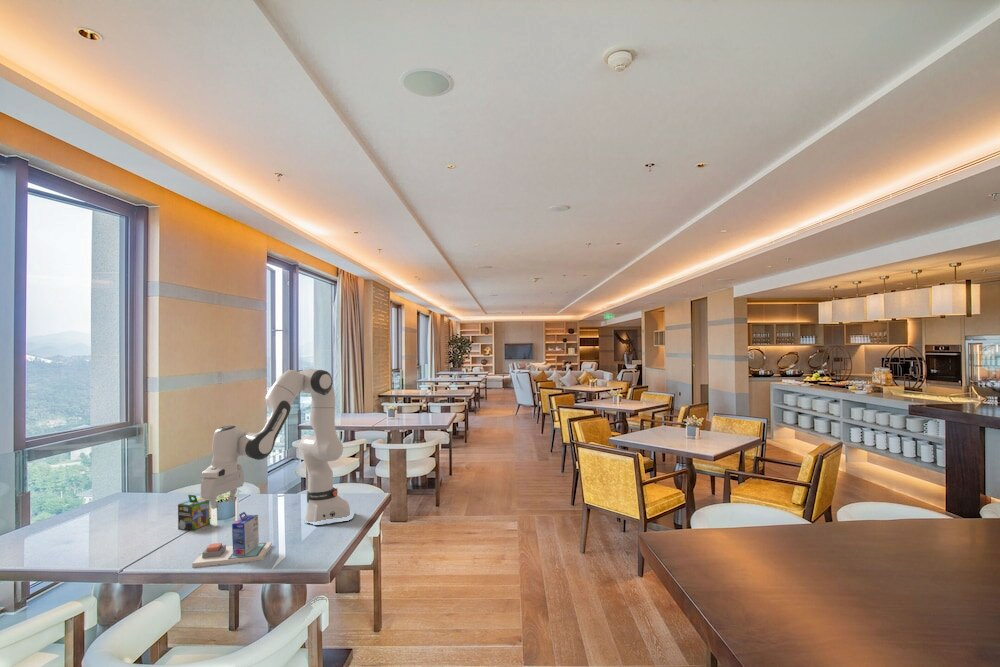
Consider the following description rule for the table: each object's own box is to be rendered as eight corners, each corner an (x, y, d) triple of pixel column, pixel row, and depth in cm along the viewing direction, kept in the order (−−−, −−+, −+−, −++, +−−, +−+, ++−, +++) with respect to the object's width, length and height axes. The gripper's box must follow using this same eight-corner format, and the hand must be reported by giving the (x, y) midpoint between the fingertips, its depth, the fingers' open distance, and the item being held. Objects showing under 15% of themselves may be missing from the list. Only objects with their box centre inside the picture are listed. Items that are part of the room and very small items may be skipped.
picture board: (271, 545, 194) (271, 537, 194) (262, 560, 180) (262, 550, 180) (206, 552, 189) (206, 543, 189) (192, 567, 175) (192, 557, 175)
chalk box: (210, 524, 220) (210, 492, 221) (191, 531, 212) (192, 498, 212) (195, 522, 223) (196, 490, 224) (176, 529, 215) (177, 496, 215)
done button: (221, 548, 185) (221, 542, 186) (218, 552, 182) (218, 546, 182) (210, 549, 185) (210, 543, 185) (206, 553, 181) (206, 548, 181)
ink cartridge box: (245, 545, 191) (246, 508, 191) (259, 545, 191) (259, 508, 191) (231, 555, 181) (231, 517, 181) (245, 555, 181) (245, 517, 181)
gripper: (234, 462, 196) (233, 496, 195) (197, 474, 175) (196, 512, 174) (248, 463, 195) (247, 497, 194) (213, 474, 175) (212, 512, 174)
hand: (223, 504), depth 184 cm, fingers open, 8 cm apart
